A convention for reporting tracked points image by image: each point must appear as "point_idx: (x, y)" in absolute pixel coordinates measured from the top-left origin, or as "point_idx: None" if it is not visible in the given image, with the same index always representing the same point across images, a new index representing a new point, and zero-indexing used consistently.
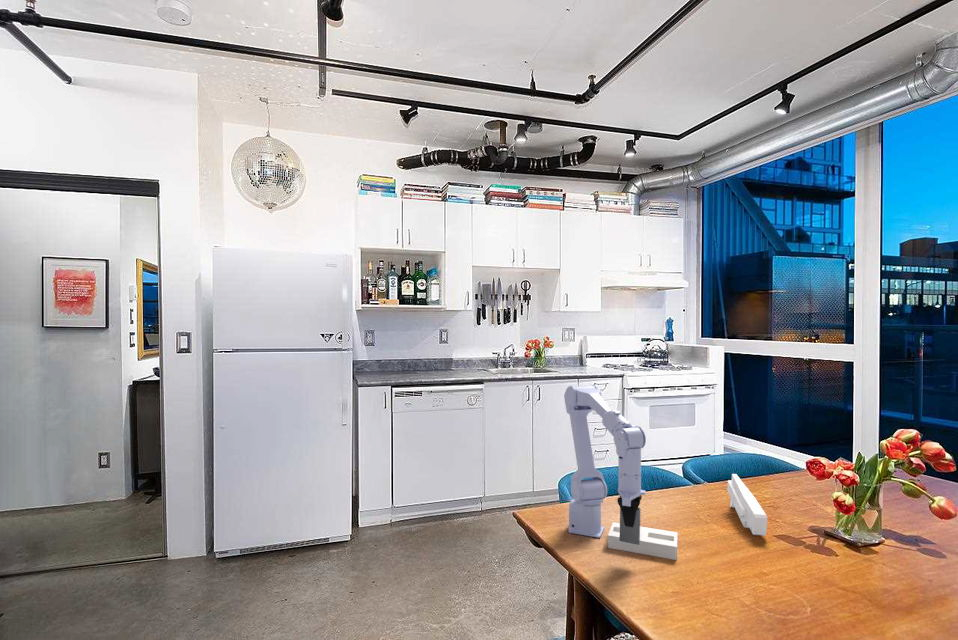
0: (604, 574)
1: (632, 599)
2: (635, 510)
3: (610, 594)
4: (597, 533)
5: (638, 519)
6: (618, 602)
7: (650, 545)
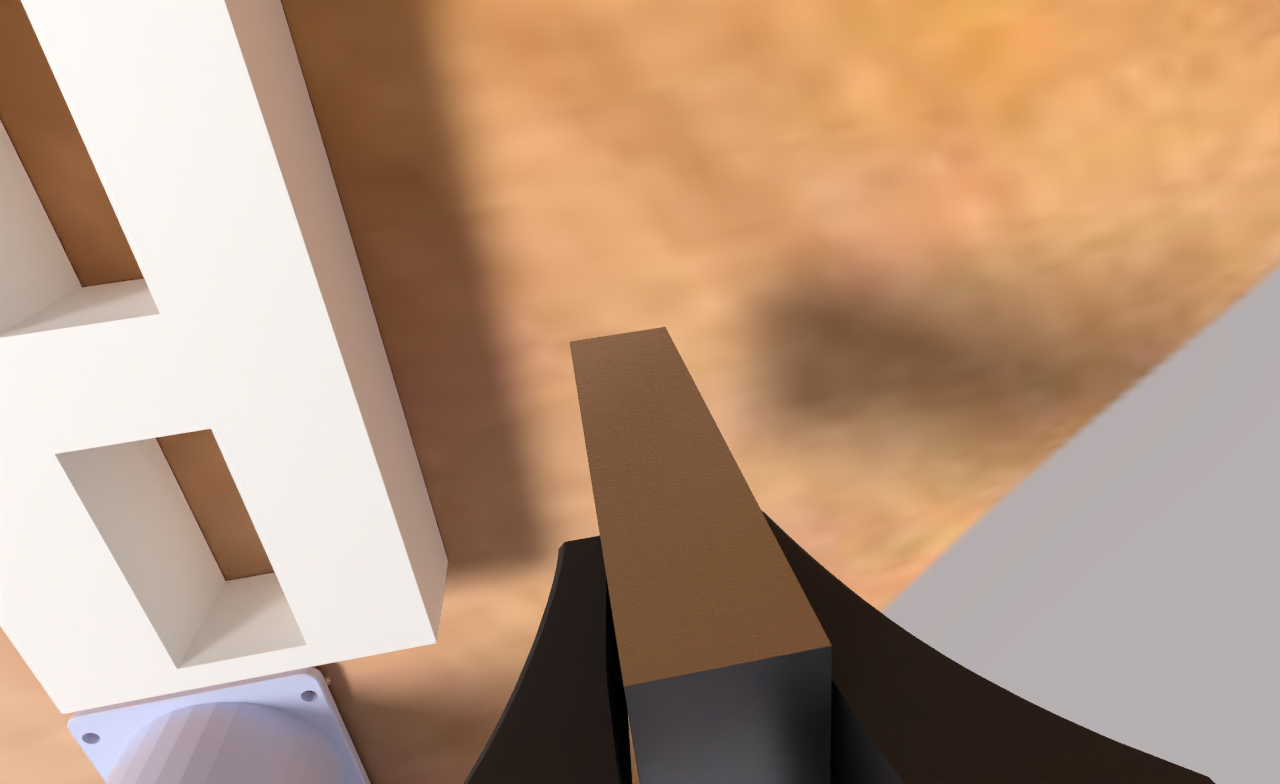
0: (902, 443)
1: (1203, 170)
2: (1034, 716)
3: (1163, 326)
4: (265, 706)
5: (761, 523)
6: (1255, 249)
7: (316, 237)
